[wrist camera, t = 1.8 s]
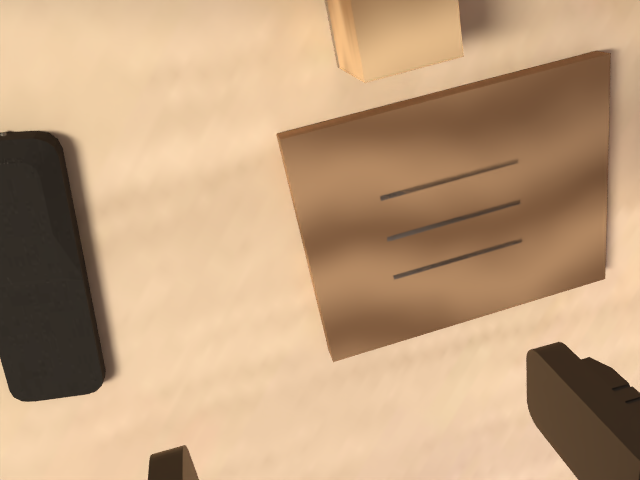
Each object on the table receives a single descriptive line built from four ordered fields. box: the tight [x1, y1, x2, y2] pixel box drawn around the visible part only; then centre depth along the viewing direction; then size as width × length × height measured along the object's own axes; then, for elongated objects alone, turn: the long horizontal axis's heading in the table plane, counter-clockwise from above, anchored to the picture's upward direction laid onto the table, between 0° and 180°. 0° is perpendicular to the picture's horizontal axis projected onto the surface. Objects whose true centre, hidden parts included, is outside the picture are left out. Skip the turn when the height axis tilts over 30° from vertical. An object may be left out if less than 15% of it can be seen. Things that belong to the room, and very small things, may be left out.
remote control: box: [0, 131, 106, 402], centre depth 30 cm, size 5×2×15 cm
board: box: [277, 51, 611, 362], centre depth 33 cm, size 14×18×1 cm
